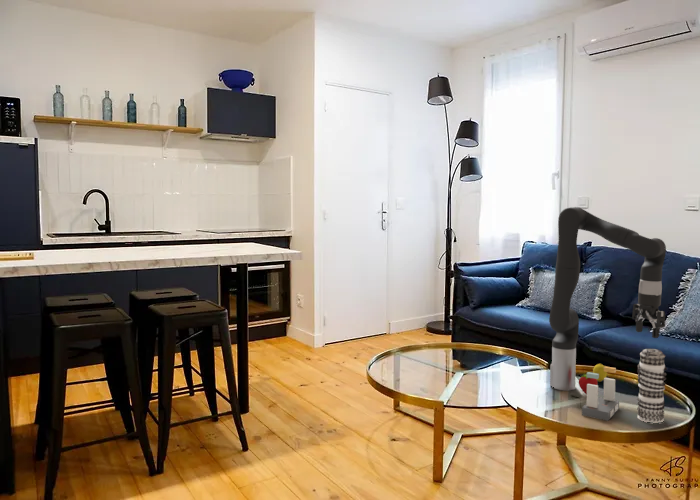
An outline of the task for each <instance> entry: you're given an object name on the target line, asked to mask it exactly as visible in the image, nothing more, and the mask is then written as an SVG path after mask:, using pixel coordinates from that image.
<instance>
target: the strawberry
mask: <svg viewBox="0 0 700 500" xmlns="http://www.w3.org/2000/svg"><path fill="white" fill-rule="evenodd" d="M598 382H599V381H598V380H597V379H594V378H588V377H587V373H586V374H585V373H583V375H581V376H580V378H579V379H578V385H579V387H580V389H581V390H582V392H583V393H584V395H586V396H587V384H593V385H598V384H599V383H598Z"/></svg>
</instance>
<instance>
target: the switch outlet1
mask: <svg viewBox="0 0 700 500" xmlns="http://www.w3.org/2000/svg"><path fill="white" fill-rule="evenodd" d="M586 375H587V377H588V378H594V379H598V378H599V374H597V373H593V372H590V371H588V372H586ZM598 397H599V385H598V384H597V385H593V384H587V395H586V403H587V406H589V407H594V408H598Z"/></svg>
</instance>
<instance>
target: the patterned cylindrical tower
mask: <svg viewBox="0 0 700 500" xmlns="http://www.w3.org/2000/svg"><path fill="white" fill-rule="evenodd" d="M639 357H640V359H639V363H638V364H637V366H636V367H637V373H638V374H637V382H638V383H637V385H638V387H639V392H638V397H637V412H636V414H637V416H636V417H637V419H638V420H639V421H641V422H643V421H644V423H647V422H653V423H658V422H663V421H664V422H665V419H664V418H665V415H664V414H665V410H664V409H665V398H664V390H666V387H665V386H666V382H664V381H666V380H667V377H666V376H667V373H666V372H665V371H666V370H667V367H666V365H665V357H666V354H664V353H663V352H662V350H660V349H656V348H645V349H642V351H641V352H640V353H639ZM664 422H663V423H664ZM653 423H652V424H653Z"/></svg>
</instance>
